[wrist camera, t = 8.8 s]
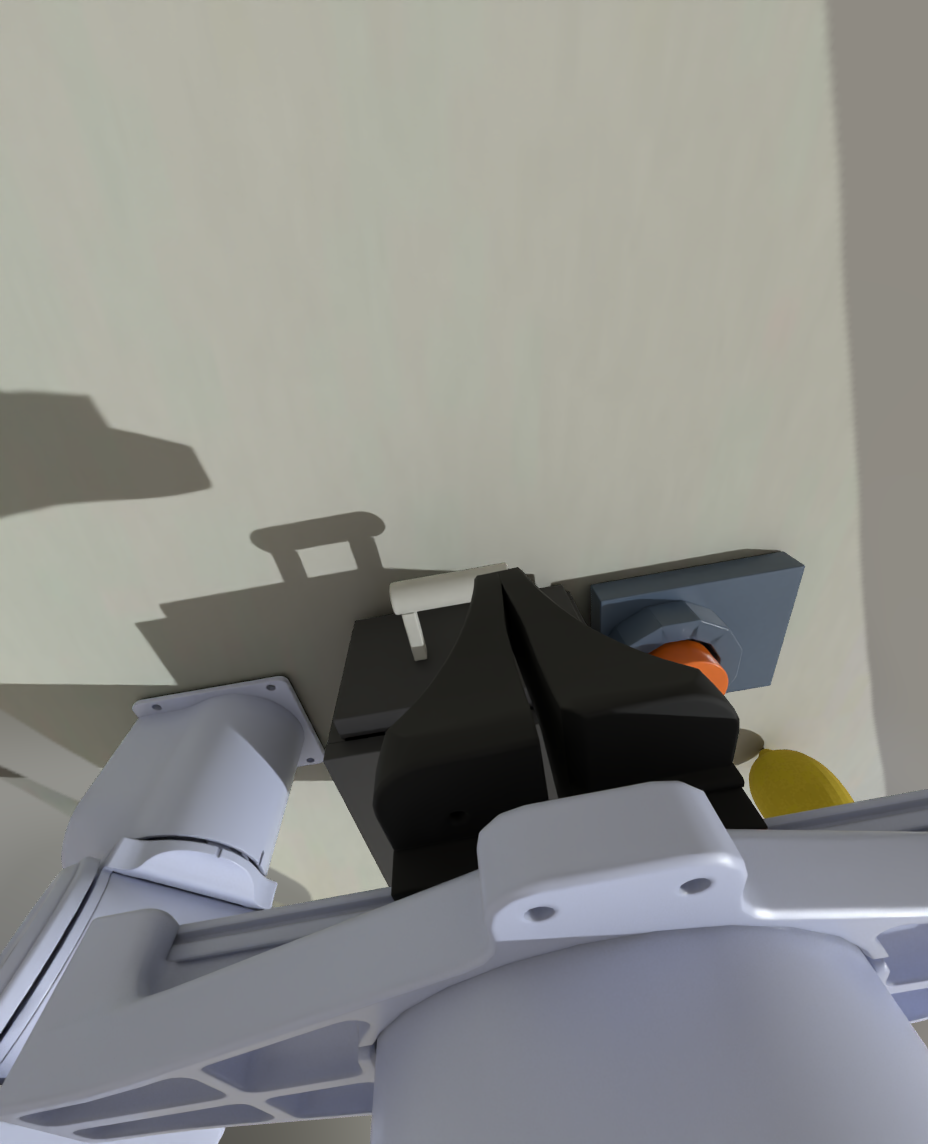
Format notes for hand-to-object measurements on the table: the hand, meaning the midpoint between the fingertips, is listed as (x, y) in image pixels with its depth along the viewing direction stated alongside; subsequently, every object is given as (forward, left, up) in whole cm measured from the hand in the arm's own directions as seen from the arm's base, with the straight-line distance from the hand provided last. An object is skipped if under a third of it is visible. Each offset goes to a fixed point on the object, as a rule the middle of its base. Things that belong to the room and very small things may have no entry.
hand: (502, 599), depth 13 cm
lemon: (+19, -25, -10) cm, 33 cm away
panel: (+11, -11, -10) cm, 19 cm away
